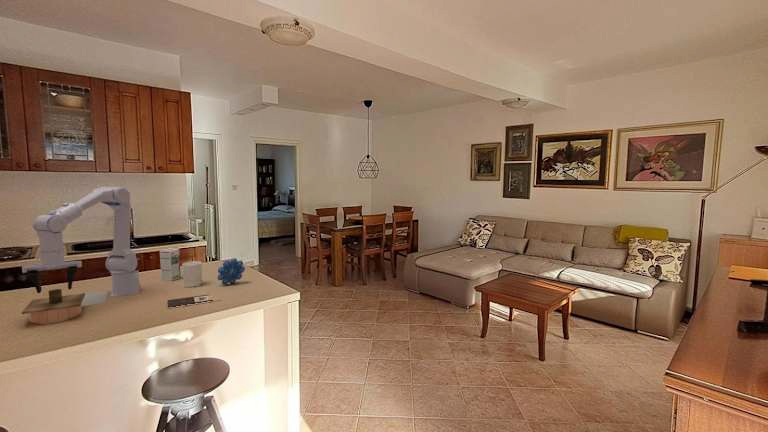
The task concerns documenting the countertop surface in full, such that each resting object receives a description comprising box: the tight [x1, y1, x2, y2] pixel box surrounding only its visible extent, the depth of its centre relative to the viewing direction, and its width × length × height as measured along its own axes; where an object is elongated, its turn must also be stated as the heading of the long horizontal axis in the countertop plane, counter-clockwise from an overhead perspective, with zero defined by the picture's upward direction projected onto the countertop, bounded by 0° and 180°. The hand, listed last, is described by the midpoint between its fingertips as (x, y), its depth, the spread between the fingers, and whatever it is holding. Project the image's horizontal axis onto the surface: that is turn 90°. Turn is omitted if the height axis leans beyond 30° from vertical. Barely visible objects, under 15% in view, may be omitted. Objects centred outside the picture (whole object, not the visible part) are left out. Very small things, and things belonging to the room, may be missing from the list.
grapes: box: [216, 257, 246, 285], centre depth 162 cm, size 12×7×12 cm, turn 122°
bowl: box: [28, 303, 83, 325], centre depth 120 cm, size 13×13×4 cm
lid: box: [21, 288, 86, 315], centre depth 120 cm, size 14×14×5 cm
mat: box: [82, 290, 108, 307], centre depth 136 cm, size 17×17×1 cm
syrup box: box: [159, 247, 182, 282], centre depth 167 cm, size 6×6×14 cm
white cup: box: [181, 260, 203, 288], centre depth 159 cm, size 8×8×10 cm
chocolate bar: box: [167, 294, 213, 309], centre depth 138 cm, size 9×1×18 cm
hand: (55, 290), depth 120 cm, fingers open, 7 cm apart
